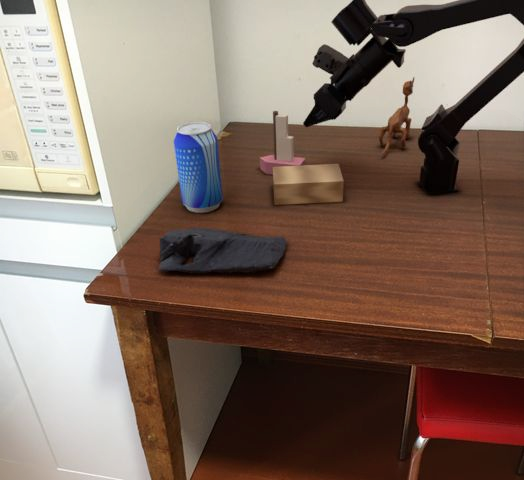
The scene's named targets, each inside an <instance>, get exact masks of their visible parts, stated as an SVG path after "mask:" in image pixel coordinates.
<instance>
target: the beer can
mask: <svg viewBox="0 0 524 480" xmlns="http://www.w3.org/2000/svg"><path fill="white" fill-rule="evenodd" d="M176 131H177V132H176V134H175V137H174V139H173V146H174V153H175V154H174V155H175V160H176V161H175V162H176V167H177V169H176V170H177V174H178V175H177V176H178V183H179V190H180V197H181V203H182V204H183V206H185V207H186V209H187V211H189V212H193V213H195V214H196V213H197V214H203V213H204V214H205V213H210V212H213V211H215V210H217V209H218V208H220V204H221V203H222V202H223V200H224V197H223V195H224V194H223V187H222V185H223V184H222V174H221V164H220V153H219V142H218V135H216V133H215V132H214V131H213V129H212V125H211V124H210V123H208V122H204V121H190V122H186V123H182V124H179V126H177V128H176Z"/></svg>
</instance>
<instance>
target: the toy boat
mask: <svg viewBox="0 0 524 480" xmlns="http://www.w3.org/2000/svg"><path fill="white" fill-rule="evenodd" d="M272 124H273V125H272V126H273V127H272V129H273V154H269V155H264V156H261V157H259V164H260V165H259V166H260V171H262V172H263V173H265V175H272V176H273V167H281V166H301V165H307V163H306V160H307V159H306V157H299V156H298V157H297V156H295V154H294V153H295V149H294V147H295V146H294V141H295V140H294V137H295V136H293V135H289V115H288V114H283V113H282V114H281V113H279V111H278V110H273V111H272Z"/></svg>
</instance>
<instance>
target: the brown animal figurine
mask: <svg viewBox="0 0 524 480" xmlns="http://www.w3.org/2000/svg"><path fill="white" fill-rule="evenodd" d="M414 81H415V76H413V78H412V79H411V80H408V81H405V82H404V83H403V85H402V94H403V95H404V103H403V106H401V107H399V108H397V110H396V111H395V112H394V113H393V114H392V115H391V116H390V117H389V118H388V120H387V125H385V126H383V127H381V128H380V129H379V132H378V141H379V144H380V146H383V145H384V140H383V139H384V136H385V134H386V132H388V137H387V141H386V145H385V146H384V147H385V148H384V149H383V150H382V151H381V153H380V154H381V155H382V156H383V155H385V154H386V153H387V152H388V150H389V149H390V146H391V143H392V139H393V138H398V135H397V134H401V139H400V146H401V149H404V148H405V147H406V146H407V145H406V139H407V140H409V139H410V138H411V136H410V131H411V123H412V118H411V117H409V115H410V113H411V111H410V108H409V107H408V103H409V97H410V96H411V95H413V93H414V91H413V90H414V89H413V88H414ZM404 124H405V127H402V126H403V125H404Z"/></svg>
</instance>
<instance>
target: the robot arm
mask: <svg viewBox="0 0 524 480" xmlns="http://www.w3.org/2000/svg"><path fill="white" fill-rule="evenodd" d="M507 15H511V16H512V17H514V18H515V19H516V20H517V21H518V22H519V23H520V24H522V25H523V26H524V0H454V1H450V2H447V3H443V4H413V5H411V4H410V5H405V6H404V7H401V8H400V9H399V10H398V11H397V12H394V13H388V14H387V13H386V14H380V15H379V16H377V15H376V13H375V12H374V11H373V10H372V9H371V7H370V6H369V5H368V3H367V1H366V0H351V1H350V2H349V3H348V4H347V5H345V7H343V8H342V9H341V10H340V11H339V12H338V13H337V14H336V15H335V17H333V19H332V20H331V21H330V22H331V24H332V25H333V27H334V28H335V29H336V30H337V32H338V33H339V34H340V35H341V36H342V37H343V39H344V40H345V41H346V42H347V44H348V45H349V46H352V45H353V46H356V45H357V47H359V46H360V45H361V44H362V43H363V42H364V41H365V40H366V39H367V38H368V37H369V36H370V35H371V36H372V37H370V39H369V40H368V41H367V42H366V43H365V44H364V45H363V46H362V47H360V49H359V50H358V51H357V52H356V53H355V54H354V53H353V54H351V55H350V56H349V57H347V56H346V55H344V54H343V53H342V52H340V51H339V50H337V49H335V48H333V47H332V46H330V45H328V44H326V43H324V44H322V45H321V46H319V47H318V50H317V51H316V54H315V55H314V56H313V61H312V66H313V67H314V68H316V69H320V70H321V71H323V72H326V73H328V74H329V75H331V76H330V77H329V80H330V83H327V82H324V84H322V85H321V86H320V87H319V88H318V89H317V91H316V92H315V93H314V94H313V100H314V105H313V107H312V109H311V110H310V112H309V113H308V115H307V117H306V118H305V119H304V121H303V122H302V124H303V126H304V127H305V128H309V127H313V126H315V125H318V124H321V123H325V122H329V121H334V120H337V119H338V117H340V116H341V115H342V113H343V112H344V111H345V110H346V109H347V102H348V101H349V102H351V101H353V99H354V98H355V97H356V96H357V95H358V93H360V92H361V91H362V90H363V89H364V88H367V86H368V85H370V84H371V82H372V81H373V80H374V79H375V78H376V77H377V76H378V75H380V73H381V72H382V71H383V70H384V69H385V68H387V66H389V64H390V63H392V62H393V64H394V65H395V66H396V67H397V68H398V69H400V68H401V67H402V66H403V64H404V63H405V54H406V51H407V50H406V47H409V46H411V45H413V44H415V43H418V42H420V41H423V40H425V39H426V38H428V37H430V36H432V35H435V34H436V33H439V32H440V31H443V30H448V29H452V28H456V27H460V26H464V25H468V24H472V23H473V24H474V23H476V22H480V21H484V20H485V21H486V20H489V19H493V18H497V17H501V16H507ZM404 47H405V48H404ZM523 73H524V37H523V39H522V40H521V41H520V42H519V44H518V45H517V47H516V48H515V49H514V50H512V51H511V52H510V53H509V54H508V55H507V56H506V57H505V58H504V59H503V60H501V62H499V63H498V64H497V65H496V66H495V67H494V68H493V69H492V70H490V72H489V73H487V74H486V75H485V76H484V77H483V78H482V79H481V80H480V81H479V82H478V83H477V84H475V86H473V88H471V89H470V90H469V91H468V92H467V93H466V94H464V95H463V97H461V98H460V99H459V100H458V101H457V102H456V103H455V104H453V105H452V106H449V107H447V108H445V106H444V105H443V104H440V105H439V106H438V107H437V109H436V110H435V111H434V112H433V113H432V114H431V115H429V116H426V118H425V120H424V122H423V124H422V126H421V131H420V133H419V136H418V140H417V146H418V149H419V150H420V152H421V153H422V154H424V157H423V164H422V165H421V166H420V173H419V180H417V185H418V186H420V188H422V189H423V190H424V192H426V193H427V194H428V195H429V196H433V195H441V194H448V193H456V192H459V188H458V187H457V186H456V183H457V175H458V171H459V164H460V159H459V158H458V157H457V156H458V153H459V149H460V146H461V142H460V140H459V139H458V138H457V135H458V134H459V133H460V131H461V130H462V129H463V127H464V126H465V125H466V123H468V122H469V121H470V120H472V118H473V117H474V116H476V115H477V114H478V113H479V112H480V111H481V110H483V108H485V107H486V106H487V105H489V104H490V102H491V101H493V100H494V99H495V98H496V97H497V96H498V95H500V94H501V93H502V92H503V91H504V90H505V89H506V88H508V87H509V86H510V85H511V84H512V83H513V82H514V81H515V80H516V79H518V78H519V77H520V76H521V75H522V74H523Z"/></svg>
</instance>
